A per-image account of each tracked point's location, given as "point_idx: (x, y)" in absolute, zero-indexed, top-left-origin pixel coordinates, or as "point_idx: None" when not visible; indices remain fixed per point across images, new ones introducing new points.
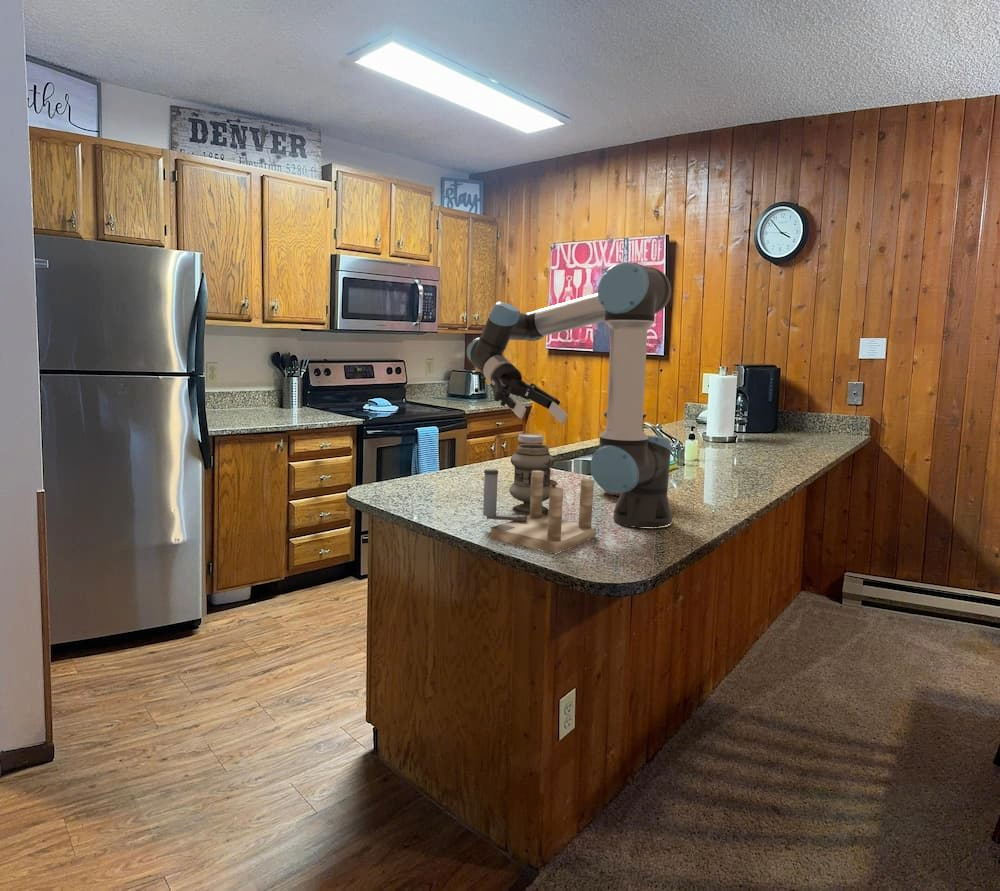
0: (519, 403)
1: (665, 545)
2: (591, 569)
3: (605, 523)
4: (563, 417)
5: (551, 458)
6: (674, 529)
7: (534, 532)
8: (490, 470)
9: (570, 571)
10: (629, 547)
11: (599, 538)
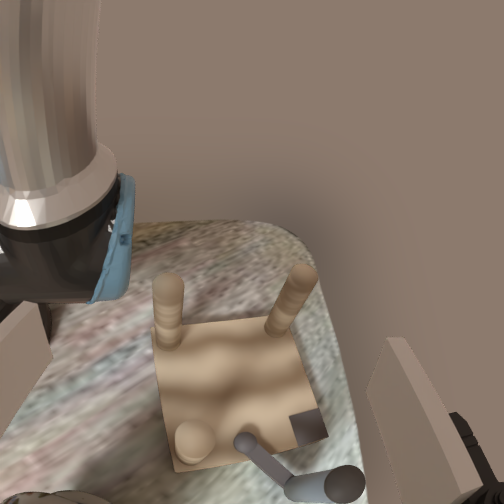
0: (426, 384)
1: None
2: (279, 263)
3: (55, 371)
4: (37, 331)
5: (26, 496)
6: None
7: (276, 373)
8: (348, 485)
9: None
10: None
11: None
